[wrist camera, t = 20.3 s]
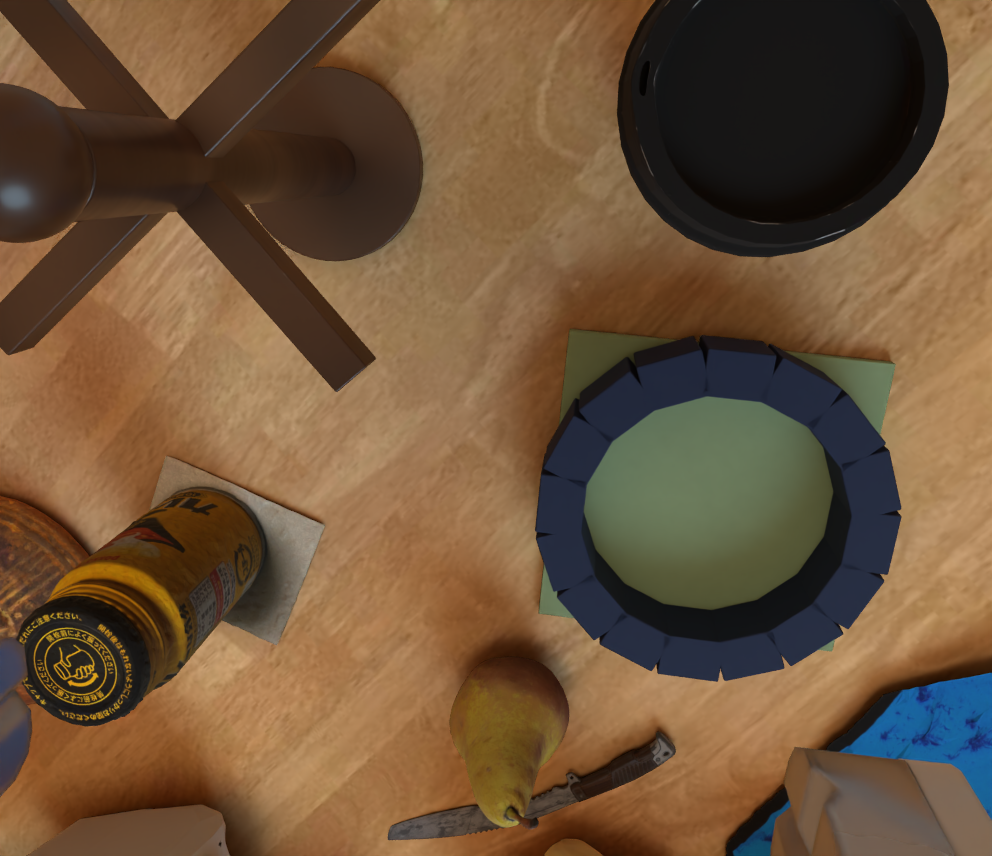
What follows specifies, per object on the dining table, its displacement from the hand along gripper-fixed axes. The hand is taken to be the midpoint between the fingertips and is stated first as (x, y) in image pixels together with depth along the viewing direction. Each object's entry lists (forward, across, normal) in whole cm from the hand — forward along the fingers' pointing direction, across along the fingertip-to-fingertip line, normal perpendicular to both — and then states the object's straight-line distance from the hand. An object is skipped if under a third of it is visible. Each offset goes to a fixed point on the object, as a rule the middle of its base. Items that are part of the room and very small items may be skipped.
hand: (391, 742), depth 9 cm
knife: (+31, 0, +24) cm, 39 cm away
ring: (+31, -8, +8) cm, 33 cm away
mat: (+31, -8, +8) cm, 33 cm away
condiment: (+31, +15, +14) cm, 37 cm away
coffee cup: (+31, -6, -8) cm, 33 cm away
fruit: (+31, 0, +19) cm, 37 cm away
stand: (+31, +10, -5) cm, 33 cm away
